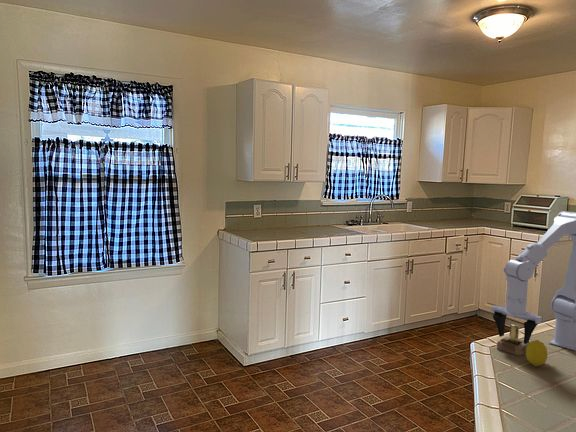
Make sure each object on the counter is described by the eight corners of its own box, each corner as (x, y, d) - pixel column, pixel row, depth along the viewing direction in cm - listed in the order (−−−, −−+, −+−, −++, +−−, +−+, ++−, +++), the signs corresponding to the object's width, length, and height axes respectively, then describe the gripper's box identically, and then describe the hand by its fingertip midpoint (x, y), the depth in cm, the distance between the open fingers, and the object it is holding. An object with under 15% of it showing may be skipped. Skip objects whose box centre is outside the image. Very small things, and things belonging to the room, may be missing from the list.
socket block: (506, 343, 145) (507, 336, 145) (528, 350, 140) (529, 342, 140) (497, 348, 141) (497, 341, 141) (519, 355, 136) (520, 348, 135)
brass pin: (510, 347, 142) (512, 323, 141) (518, 349, 140) (520, 325, 140) (507, 349, 141) (508, 325, 140) (515, 351, 139) (517, 327, 138)
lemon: (549, 371, 125) (551, 344, 124) (528, 369, 126) (530, 342, 125) (542, 363, 131) (544, 337, 130) (522, 361, 132) (524, 335, 131)
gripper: (487, 294, 142) (485, 335, 143) (536, 305, 131) (532, 349, 132) (497, 291, 146) (495, 330, 148) (545, 301, 135) (541, 343, 137)
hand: (513, 339), depth 140 cm, fingers open, 7 cm apart
